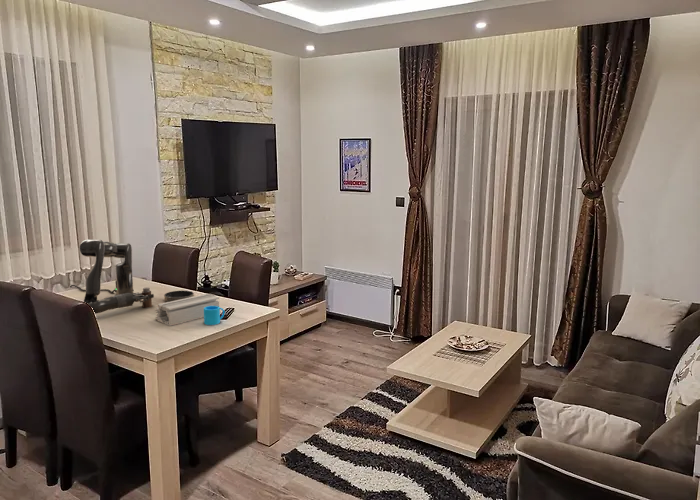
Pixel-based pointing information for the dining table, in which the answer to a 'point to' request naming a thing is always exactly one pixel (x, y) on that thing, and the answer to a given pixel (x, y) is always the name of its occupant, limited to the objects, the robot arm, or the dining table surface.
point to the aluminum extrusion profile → (185, 309)
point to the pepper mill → (148, 303)
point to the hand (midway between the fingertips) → (150, 294)
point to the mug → (212, 315)
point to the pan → (177, 295)
